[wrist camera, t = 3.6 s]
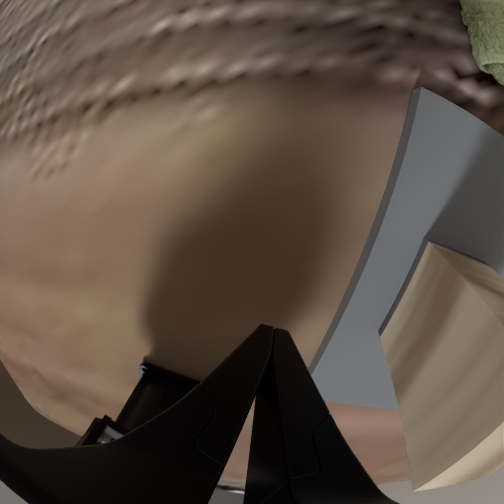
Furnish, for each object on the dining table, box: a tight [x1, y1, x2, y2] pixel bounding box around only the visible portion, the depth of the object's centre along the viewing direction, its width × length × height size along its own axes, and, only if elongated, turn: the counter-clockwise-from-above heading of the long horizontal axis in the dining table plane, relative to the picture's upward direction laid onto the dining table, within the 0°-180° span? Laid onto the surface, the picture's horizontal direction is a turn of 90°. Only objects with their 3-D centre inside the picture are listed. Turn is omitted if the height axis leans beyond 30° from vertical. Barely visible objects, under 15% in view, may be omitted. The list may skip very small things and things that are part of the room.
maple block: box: [378, 237, 504, 491], centre depth 9 cm, size 5×6×10 cm
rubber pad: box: [308, 87, 504, 410], centre depth 14 cm, size 22×20×1 cm
